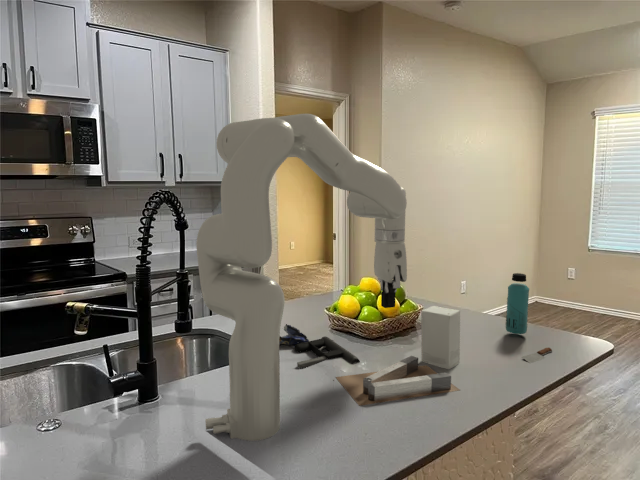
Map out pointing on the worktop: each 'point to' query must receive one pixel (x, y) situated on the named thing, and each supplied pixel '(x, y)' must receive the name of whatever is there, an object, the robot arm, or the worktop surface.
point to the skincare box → (440, 337)
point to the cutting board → (355, 389)
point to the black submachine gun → (322, 343)
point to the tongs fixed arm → (409, 386)
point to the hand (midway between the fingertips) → (388, 306)
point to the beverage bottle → (517, 305)
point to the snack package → (292, 336)
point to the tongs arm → (392, 372)
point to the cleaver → (537, 355)
